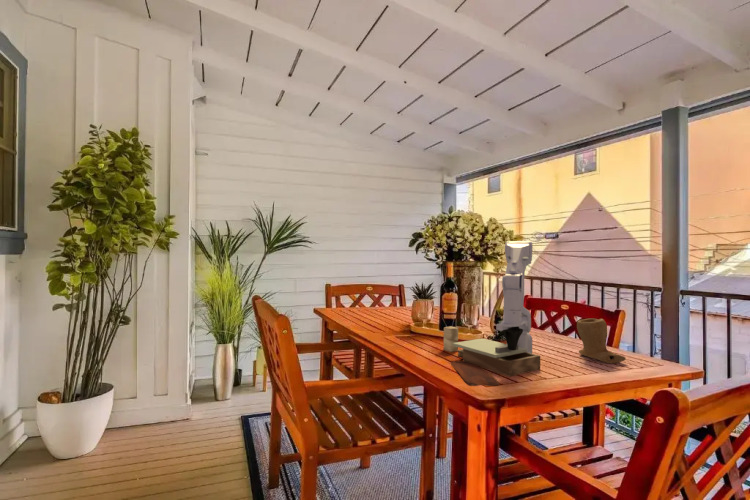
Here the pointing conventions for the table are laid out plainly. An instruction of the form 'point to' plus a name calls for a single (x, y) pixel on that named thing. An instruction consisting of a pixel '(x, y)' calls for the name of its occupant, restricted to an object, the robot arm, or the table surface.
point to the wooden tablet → (474, 374)
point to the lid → (488, 348)
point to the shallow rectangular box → (503, 362)
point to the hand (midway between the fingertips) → (512, 349)
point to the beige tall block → (450, 338)
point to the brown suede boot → (596, 341)
